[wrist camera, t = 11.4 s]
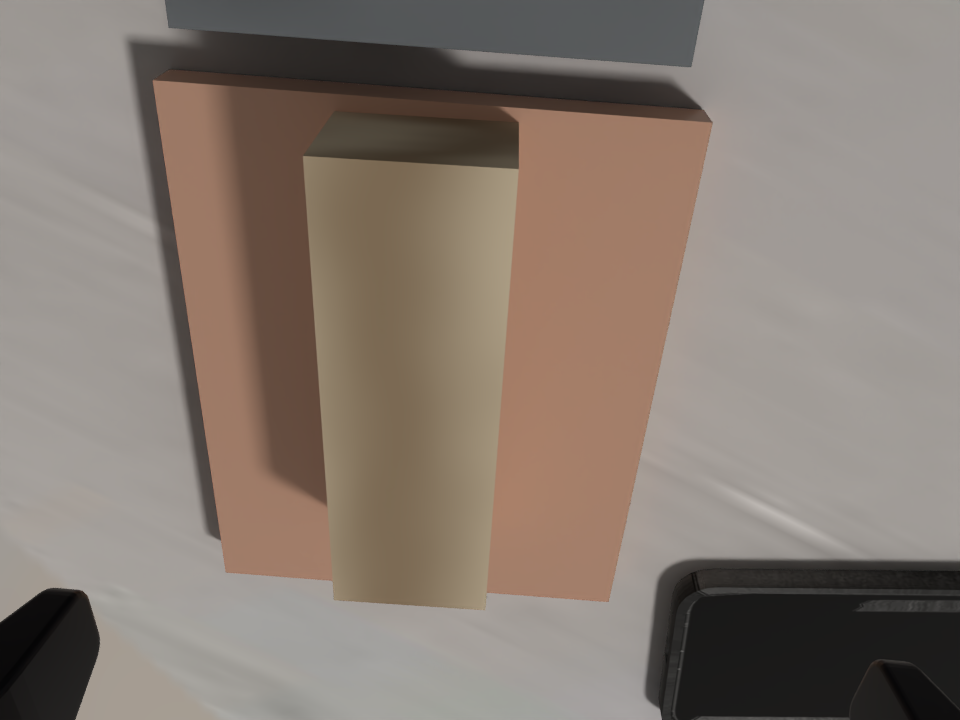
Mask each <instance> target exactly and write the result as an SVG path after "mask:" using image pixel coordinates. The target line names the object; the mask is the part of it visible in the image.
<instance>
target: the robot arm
mask: <svg viewBox="0 0 960 720" xmlns="http://www.w3.org/2000/svg"><path fill="white" fill-rule="evenodd" d="M99 646H100V637H99V632H98V629H97V625H96V622H95V619H94V615H93V612H92V608H91V605H90V602H89V599H88V596H87V595H86V594H85V593H84V592H83V591H81V590H74V589H62V588H50V589H46V590H44V591H42V592H41V593H39V594H38V595H37V596H35V597H34V598H32V599H31V600H30V601H28V602H27V603H26V604H24V605H23V606H22V607H20V608H19V609H17V610H16V611H15V612H14V613H12V614H11V615H9V616H8V617H7V618H6V619H4V620H3V621H1V622H0V720H75V719H76V716H77V713H78V711H79V708H80V705H81V702H82V699H83V696H84V694H85V691H86V688H87V685H88V682H89V679H90V676H91V674H92V670H93V668H94V665H95V662H96V659H97V656H98V652H99ZM849 715H850V720H960V709H959V708H958V707H957V706H956V705H955V704H954V703H953V702H952V701H951V700H950V699H949V698H948V697H947V696H946V695H945V694H944V693H943V692H942V691H941V690H940V689H939V688H938V687H937V686H936V685H935V684H934V683H933V682H932V681H931V680H930V679H929V678H928V677H927V676H926V675H925V674H924V673H923V672H922V671H921V670H920V669H919V668H918V667H917V666H915V665H914V664H912V663H909V662H905V661H895V660H883V659H878V660H875V661H874V662H872V663H871V664H870V666H869V668H868V669H867V671H866V673H865V675H864V677H863V679H862V681H861V683H860V685H859V687H858V689H857V691H856V693H855V695H854V697H853V699H852V702H851V705H850V713H849Z"/></svg>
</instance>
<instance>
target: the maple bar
mask: <svg viewBox="0 0 960 720" xmlns="http://www.w3.org/2000/svg"><path fill="white" fill-rule="evenodd" d="M303 166H304V180H305V194H306V208H307V222H308V237H309V251H310V265H311V279H312V294H313V308H314V322H315V336H316V350H317V365H318V379H319V393H320V407H321V421H322V436H323V450H324V464H325V478H326V492H327V507H328V521H329V535H330V549H331V563H332V578H333V592H334V600H341V601H356V602H371V603H386V604H401V605H415V606H430V607H445V608H460V609H475V610H485V607H486V593H487V580H488V567H489V554H490V541H491V528H492V515H493V502H494V488H495V475H496V462H497V449H498V436H499V423H500V410H501V396H502V383H503V370H504V357H505V344H506V331H507V318H508V304H509V291H510V278H511V265H512V252H513V239H514V226H515V212H516V199H517V186H518V173H519V122H504V121H488V120H471V119H455V118H438V117H422V116H405V115H389V114H372V113H356V112H340V111H334V112H333V114H332V115H331V117H330V118H329V119H328V121H327V122H326V124H325V125H324V127H323V128H322V129H321V131H320V132H319V134H318V135H317V137H316V138H315V139H314V141H313V142H312V144H311V145H310V147H309V148H308V149H307V151H306V152H305V154H304V155H303Z"/></svg>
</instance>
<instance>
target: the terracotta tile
mask: <svg viewBox="0 0 960 720" xmlns="http://www.w3.org/2000/svg"><path fill="white" fill-rule="evenodd" d="M153 87H154V93H155V100H156V107H157V113H158V120H159V127H160V134H161V140H162V147H163V154H164V160H165V167H166V174H167V181H168V187H169V194H170V201H171V207H172V214H173V221H174V228H175V234H176V241H177V248H178V254H179V261H180V268H181V275H182V281H183V288H184V295H185V301H186V308H187V315H188V322H189V328H190V335H191V342H192V348H193V355H194V362H195V369H196V375H197V382H198V389H199V395H200V402H201V409H202V416H203V422H204V429H205V436H206V442H207V449H208V456H209V463H210V469H211V476H212V483H213V489H214V496H215V503H216V510H217V516H218V523H219V530H220V536H221V543H222V550H223V556H224V563H225V570H226V572H227V573H240V574H253V575H266V576H279V577H292V578H305V579H318V580H331V581H333V578H332V563H331V549H330V535H329V521H328V507H327V492H326V478H325V464H324V450H323V436H322V421H321V407H320V393H319V379H318V365H317V350H316V336H315V322H314V308H313V294H312V279H311V265H310V251H309V237H308V222H307V208H306V194H305V180H304V166H303V155H304V154H305V152H306V151H307V149H308V148H309V147H310V145H311V144H312V142H313V141H314V139H315V138H316V137H317V135H318V134H319V132H320V131H321V129H322V128H323V127H324V125H325V124H326V122H327V121H328V119H329V118H330V117H331V115H332V114H333V112H334V111H340V112H356V113H372V114H389V115H405V116H422V117H438V118H455V119H471V120H488V121H504V122H519V173H518V186H517V199H516V212H515V226H514V239H513V252H512V265H511V278H510V291H509V304H508V318H507V331H506V344H505V357H504V370H503V383H502V396H501V410H500V423H499V436H498V449H497V462H496V475H495V488H494V502H493V515H492V528H491V541H490V554H489V567H488V580H487V593H499V594H512V595H525V596H538V597H551V598H564V599H577V600H590V601H603V602H609V598H610V593H611V589H612V584H613V579H614V575H615V570H616V565H617V561H618V556H619V552H620V547H621V542H622V538H623V533H624V529H625V524H626V519H627V515H628V510H629V506H630V501H631V496H632V492H633V487H634V483H635V478H636V473H637V469H638V464H639V460H640V455H641V450H642V446H643V441H644V437H645V432H646V427H647V423H648V418H649V414H650V409H651V404H652V400H653V395H654V390H655V386H656V381H657V377H658V372H659V367H660V363H661V358H662V354H663V349H664V344H665V340H666V335H667V331H668V326H669V321H670V317H671V312H672V308H673V303H674V298H675V294H676V289H677V285H678V280H679V275H680V271H681V266H682V262H683V257H684V252H685V248H686V243H687V239H688V234H689V229H690V225H691V220H692V215H693V211H694V206H695V202H696V197H697V192H698V188H699V183H700V179H701V174H702V169H703V165H704V160H705V156H706V151H707V146H708V142H709V137H710V133H711V128H712V123H713V122H712V121H711V120H710V118H709V117H708V115H707V114H706V112H705V111H704V110H699V109H686V108H673V107H660V106H647V105H634V104H620V103H607V102H594V101H581V100H568V99H554V98H541V97H528V96H515V95H502V94H488V93H475V92H462V91H449V90H436V89H422V88H409V87H396V86H383V85H370V84H357V83H343V82H330V81H317V80H304V79H291V78H277V77H264V76H251V75H238V74H225V73H211V72H198V71H185V70H172V69H169V70H168V71H166V72H165V73H163V74H162V75H160V76H158V77H157V78H155V79H154V80H153Z"/></svg>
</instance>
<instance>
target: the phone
mask: <svg viewBox="0 0 960 720" xmlns="http://www.w3.org/2000/svg"><path fill="white" fill-rule="evenodd" d="M672 611H673V615H672ZM878 659H883V660H895V661H905V662H909V663H912V664H914V665H915V666H917V667H918V668H919V669H920V670H921V671H922V672H923V673H924V674H925V675H926V676H927V677H928V678H929V679H930V680H931V681H932V682H933V683H934V684H935V685H936V686H937V687H938V688H939V689H940V690H941V691H942V692H943V693H944V694H945V695H946V696H947V697H948V698H949V699H950V700H951V701H952V702H953V703H954V704H955V705H956V706H957V707H958V708H959V709H960V571H892V570H782V569H707V570H700V571H697V572H694V573H691V574H689V575H688V576H686V577H684V578H683V579H681V581H680V582H679V583H678V584H677V585H676V586H675V589H674V592H673V596H672V603H671V611H670V618H669V625H668V633H667V640H666V647H665V655H664V662H663V670H662V677H661V684H660V692H659V704H660V710H661V716H662V720H850V715H849V713H850V705H851V702H852V699H853V697H854V695H855V693H856V691H857V689H858V687H859V685H860V683H861V681H862V679H863V677H864V675H865V673H866V671H867V669H868V668H869V666H870V664H871V663H872V662H874V661H875V660H878Z"/></svg>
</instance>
